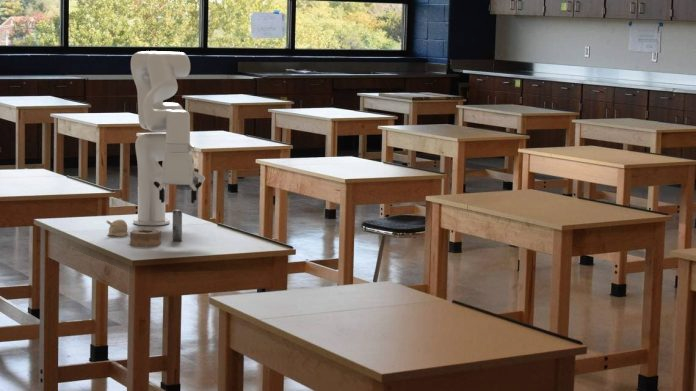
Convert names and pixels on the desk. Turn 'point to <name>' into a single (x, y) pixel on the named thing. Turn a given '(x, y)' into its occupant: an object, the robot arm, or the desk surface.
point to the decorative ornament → (117, 228)
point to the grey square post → (177, 226)
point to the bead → (145, 237)
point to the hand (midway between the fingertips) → (177, 202)
